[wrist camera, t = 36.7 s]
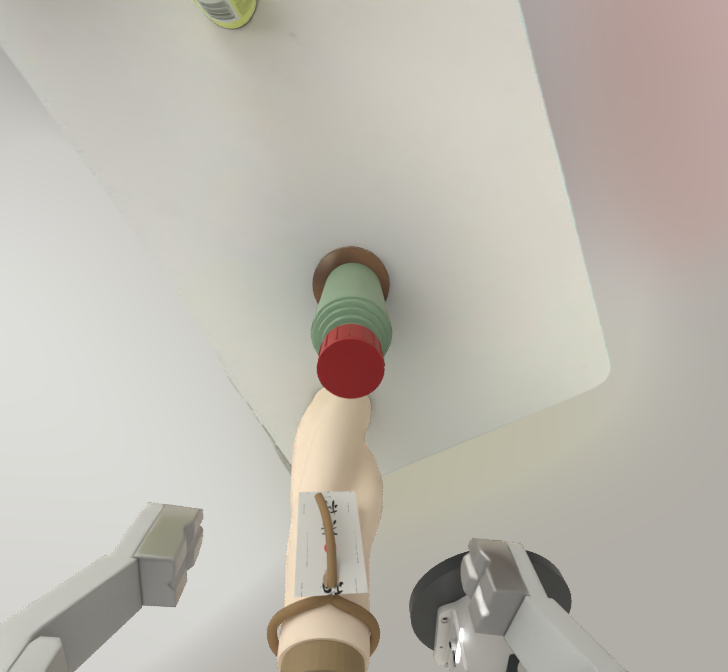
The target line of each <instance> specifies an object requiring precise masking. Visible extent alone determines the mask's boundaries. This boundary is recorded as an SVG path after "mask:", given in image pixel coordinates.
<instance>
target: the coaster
mask: <svg viewBox="0 0 728 672" xmlns="http://www.w3.org/2000/svg"><path fill="white" fill-rule="evenodd" d="M346 263H359V264H363V265H365V266H367V267H369V268H370V269H371V270H372V271H373V272H374V273H375V274H376V275H377V277H378V279H379V281H380V284H381V288H382V292H383V296H384V300H385V301H386V299H387V296H388V293H389V277H388V274H387V271H386V269H385V267H384V265H383V263H382V262H381V261H380V259H379V258H378V257H377V256H375V255H374V254H373V253H371V252H370V251H368V250H365V249H363V248H359V247H342V248H339V249H336V250H334V251H332V252H330V253H329V254H328V255H326V256H325V257H324V258H323V259H322V260H321V262H320V263H319V265H318V266H317V268H316V270H315V273H314V277H313V292H314V296H315V298H316V301H317V302H318V304H319V302H320V299H321V295H322V292H323V289H324V286H325V283H326V280H327V278H328V276H329V275H330V273H331V272H332V271H333V270H334V269H336V268H337V267H339V266H340V265H343V264H346Z"/></svg>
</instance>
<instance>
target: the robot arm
mask: <svg viewBox="0 0 728 672" xmlns="http://www.w3.org/2000/svg"><path fill="white" fill-rule="evenodd" d="M202 519H203V510H202V509H197V508H190V507H183V506H175V505H168V504H159V503H151V502H149V503H147V504H146V505H145V506H144V507H143V508H142V509H141V511H140V512H139V514H138V515H137V517H136V518H135V519H134V521H133V523H132V524H131V525H130V527H129V528H128V530H127V531H126V533H125V534H124V536H123V537H122V539H121V540H120V542H119V543H118V545H117V546H116V548H115V549H114V551H113V552H112V553H111V555H110V556H106V555H104V556H102V557H101V558H99V559H98V560H96V561H95V562H93V563H92V564H90V565H89V566H87V567H86V568H84V569H83V570H81V571H80V572H78V573H76V574H75V575H73V576H72V577H70V578H69V579H67V580H66V581H64V582H63V583H61V584H60V585H58V586H57V587H55V588H54V589H52V590H51V591H49V592H48V593H46V594H45V595H43V596H41V597H40V598H38V599H37V600H35V601H34V602H32V603H31V604H29V605H28V606H26V607H25V608H23V609H22V610H20V611H19V612H17V613H16V614H14V615H12V616H11V617H9V618H8V619H6V620H5V621H3V622H2V623H0V672H74V671H75V670H76V669H77V668H78V667H79V666H81V664H83V663H84V662H85V661H86V660H87V659H88V658H89V657H90V656H91V655H92V654H93V653H94V652H95V651H96V650H97V649H99V647H101V646H102V645H103V644H104V643H105V642H106V641H107V640H108V639H109V638H110V637H111V636H112V635H113V634H114V633H116V632H117V631H118V630H119V629H120V628H121V627H122V626H123V625H124V624H125V623H126V622H127V621H128V620H129V619H130V618H131V617H132V616H134V615H135V613H137V612H138V611H139V610H140V609H141V608H142V605H145V606H164V607H176V605H177V603H178V601H179V598H180V596H181V594H182V592H183V589H184V587H185V585H186V582H187V570H189V569H190V568H191V567H192V566H194V564H195V561H196V559H197V556H198V554H199V550H200V547H201V544H202V537H203V528H202V527H201V526H200V524H201V522H202ZM468 549H469V553H468V554H466V555H465V556H464V557H463V560H462V563H461V573H460V574H461V582H462V586H463V590H464V592H465V593H466V594H467V595H466V596H464V597H463V598H461V599H459V600H458V601H456V602H453V603H449V604H446V605H443V606H441V607H439V608H438V610H437V620H436V631H435V641H434V652H433V656H434V660H435V662H436V663H438V664H440V665H442V666H445V667H448V668H449V671H450V672H628V671H627V670H626V669H625V668H623V667H622V666H621V665H620V664H619V663H618V662H617V661H616V660H615V659H614V658H613V657H612V656H611V655H610V654H609V653H608V652H607V651H606V650H605V649H604V648H603V647H602V646H601V645H600V644H599V643H598V642H597V641H596V640H595V639H594V638H593V637H592V636H591V635H589V633H587V631H586V630H584V628H582V626H580V625H579V624H578V623H577V622H576V621H575V620H574V619H573V618H572V617H571V616H570V615H569V614H568V613H567V612H566V611H565V610H564V609H563V608H562V607H561V606H560V605H559V604H558V603H557V602H556V601H555V600H554V599H552V598H548V597H547V595H546V593H545V590H544V588H543V586H542V584H541V582H540V580H539V578H538V576H537V574H536V572H535V570H534V567H533V565H532V563H531V561H530V559H529V557H528V555H527V553H526V551H525V549H524V547H523V546H522V545H521V544H520V543H513V542H503V541H497V540H487V539H477V538H473V539H472V540H470V542H469V545H468Z"/></svg>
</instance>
